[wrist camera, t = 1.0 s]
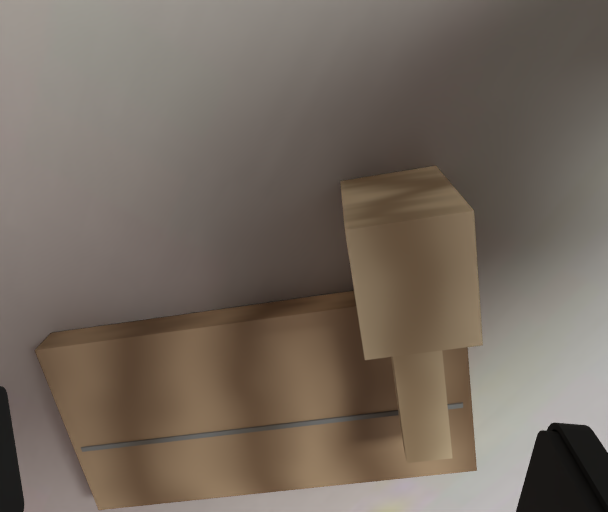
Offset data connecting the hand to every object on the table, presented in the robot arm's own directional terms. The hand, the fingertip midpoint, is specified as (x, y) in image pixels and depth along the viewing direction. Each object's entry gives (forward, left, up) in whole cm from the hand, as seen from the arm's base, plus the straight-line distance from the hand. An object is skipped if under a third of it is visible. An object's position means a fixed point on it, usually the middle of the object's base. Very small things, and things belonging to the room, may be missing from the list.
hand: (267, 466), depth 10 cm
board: (+5, +13, -21) cm, 25 cm away
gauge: (-4, +7, -21) cm, 23 cm away
